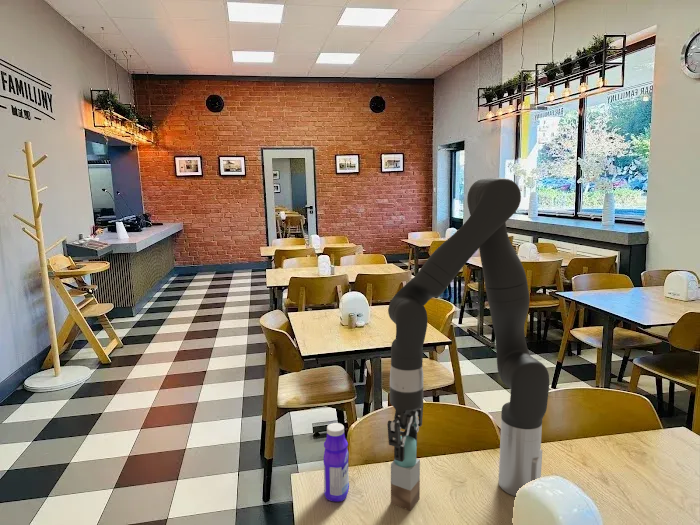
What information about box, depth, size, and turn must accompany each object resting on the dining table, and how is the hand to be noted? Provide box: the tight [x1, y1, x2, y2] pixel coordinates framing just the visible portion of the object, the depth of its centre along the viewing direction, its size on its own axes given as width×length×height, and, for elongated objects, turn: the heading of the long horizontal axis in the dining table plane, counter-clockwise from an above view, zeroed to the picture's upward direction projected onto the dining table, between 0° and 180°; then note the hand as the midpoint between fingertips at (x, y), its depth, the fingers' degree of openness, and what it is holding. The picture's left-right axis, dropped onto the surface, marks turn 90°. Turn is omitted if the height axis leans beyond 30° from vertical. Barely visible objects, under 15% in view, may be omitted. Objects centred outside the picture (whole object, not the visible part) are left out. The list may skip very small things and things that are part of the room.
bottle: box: [323, 422, 350, 503], centre depth 114 cm, size 7×6×17 cm
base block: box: [390, 479, 421, 511], centre depth 112 cm, size 5×5×5 cm
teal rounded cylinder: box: [394, 435, 417, 468], centre depth 110 cm, size 5×5×5 cm
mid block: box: [390, 457, 421, 491], centre depth 111 cm, size 5×5×5 cm
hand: (405, 452), depth 110 cm, fingers open, 6 cm apart
